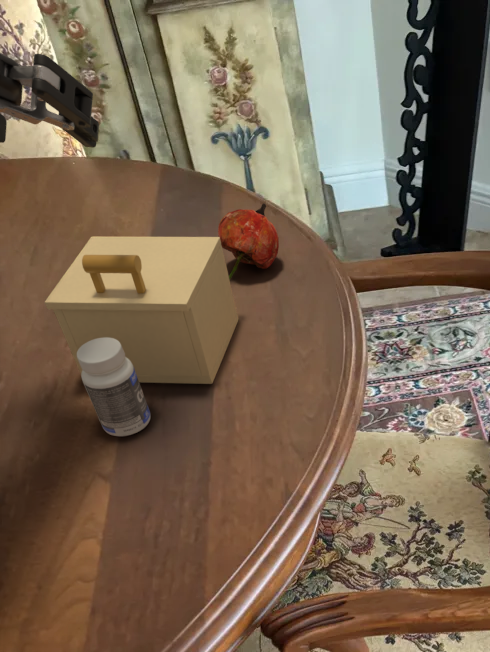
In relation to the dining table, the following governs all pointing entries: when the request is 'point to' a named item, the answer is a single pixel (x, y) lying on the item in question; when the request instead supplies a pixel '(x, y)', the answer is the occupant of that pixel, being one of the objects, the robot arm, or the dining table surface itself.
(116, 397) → the pill bottle
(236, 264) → the pomegranate
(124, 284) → the chest lid
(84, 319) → the chest
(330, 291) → the dining table surface
